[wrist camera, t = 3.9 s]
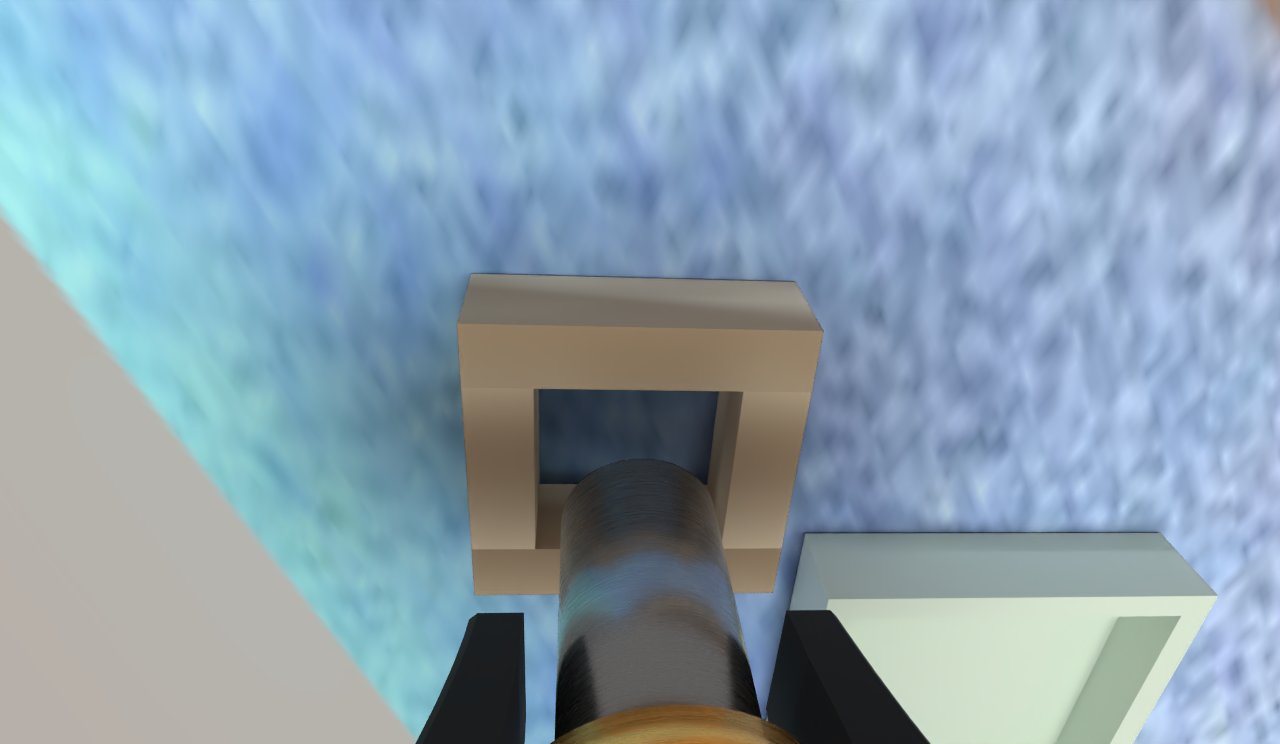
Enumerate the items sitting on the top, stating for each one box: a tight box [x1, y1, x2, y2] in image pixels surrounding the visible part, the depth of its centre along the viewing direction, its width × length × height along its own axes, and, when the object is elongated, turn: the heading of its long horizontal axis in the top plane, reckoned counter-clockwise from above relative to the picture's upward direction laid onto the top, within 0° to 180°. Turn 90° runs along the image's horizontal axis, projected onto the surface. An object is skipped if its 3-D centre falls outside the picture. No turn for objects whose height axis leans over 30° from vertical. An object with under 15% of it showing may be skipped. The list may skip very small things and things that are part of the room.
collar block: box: [457, 274, 824, 595], centre depth 15 cm, size 6×6×2 cm
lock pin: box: [551, 459, 801, 744], centre depth 11 cm, size 4×4×6 cm
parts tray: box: [766, 533, 1218, 744], centre depth 20 cm, size 9×9×2 cm
